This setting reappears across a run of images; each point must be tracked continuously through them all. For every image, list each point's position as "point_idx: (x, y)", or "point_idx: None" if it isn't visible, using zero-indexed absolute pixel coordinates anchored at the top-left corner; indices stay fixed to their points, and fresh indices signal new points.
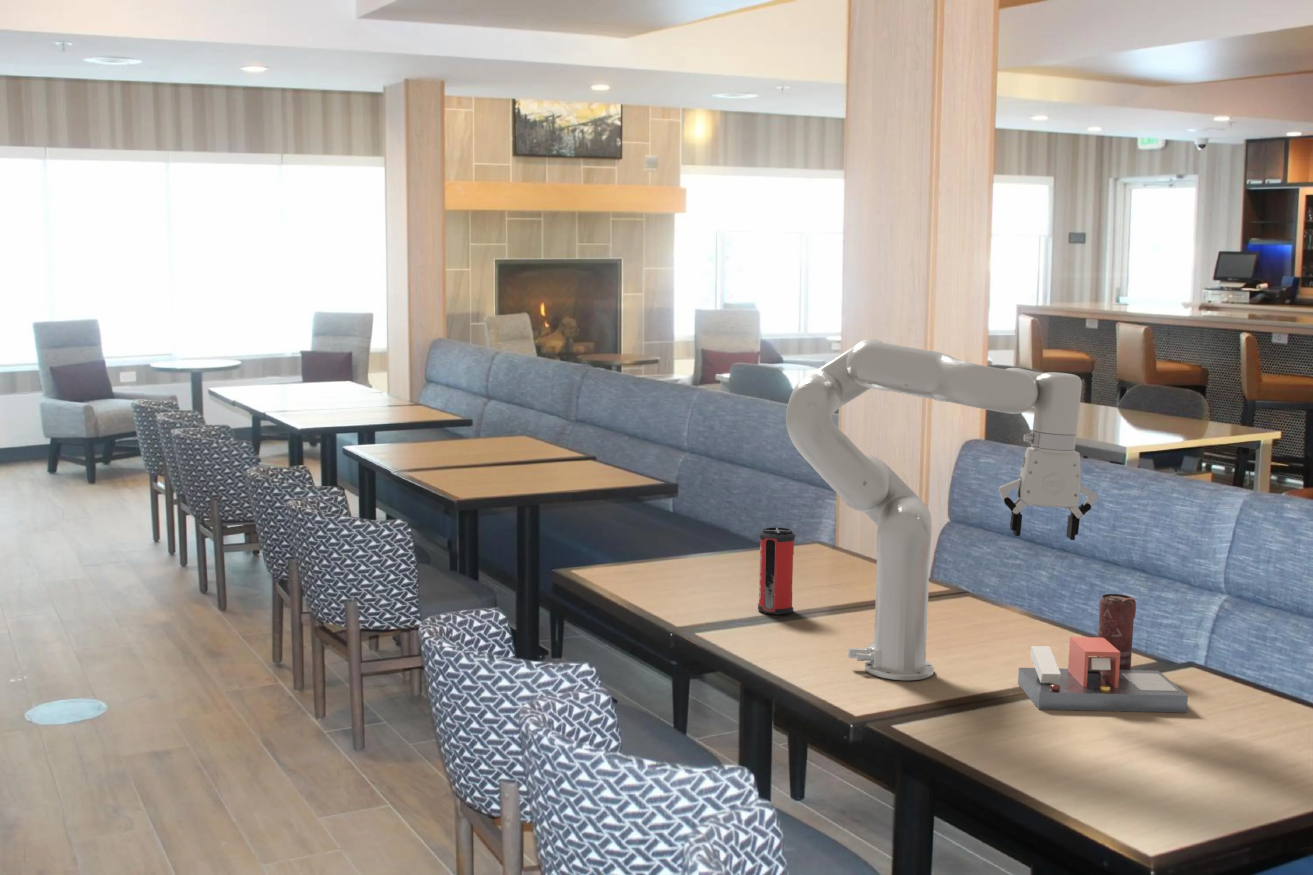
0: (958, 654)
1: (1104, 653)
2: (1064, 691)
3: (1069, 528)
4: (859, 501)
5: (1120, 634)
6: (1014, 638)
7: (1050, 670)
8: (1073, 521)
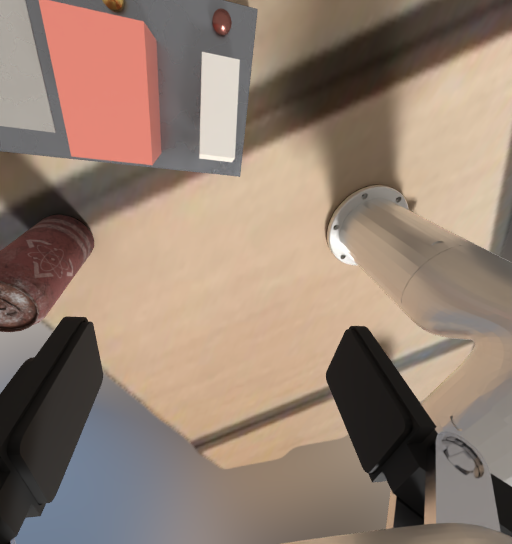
0: (268, 287)
1: (89, 10)
2: (204, 8)
3: (75, 394)
4: None
5: (29, 240)
6: (181, 343)
7: (220, 67)
8: (20, 423)
